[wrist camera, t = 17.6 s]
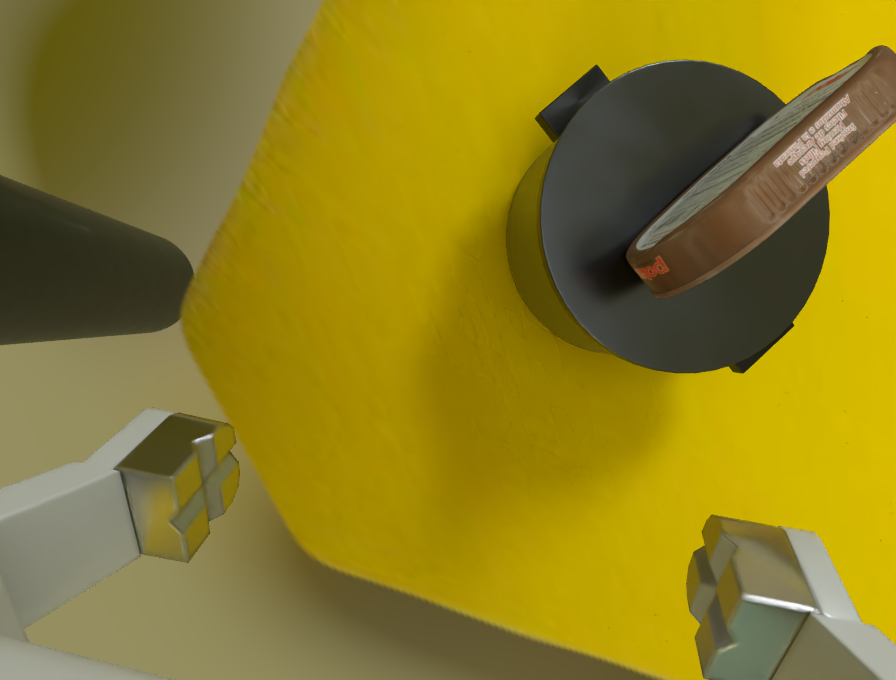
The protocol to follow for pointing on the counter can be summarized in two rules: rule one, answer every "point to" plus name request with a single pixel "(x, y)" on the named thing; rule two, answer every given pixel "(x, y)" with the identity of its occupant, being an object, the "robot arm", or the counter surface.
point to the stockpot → (637, 204)
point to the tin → (767, 176)
